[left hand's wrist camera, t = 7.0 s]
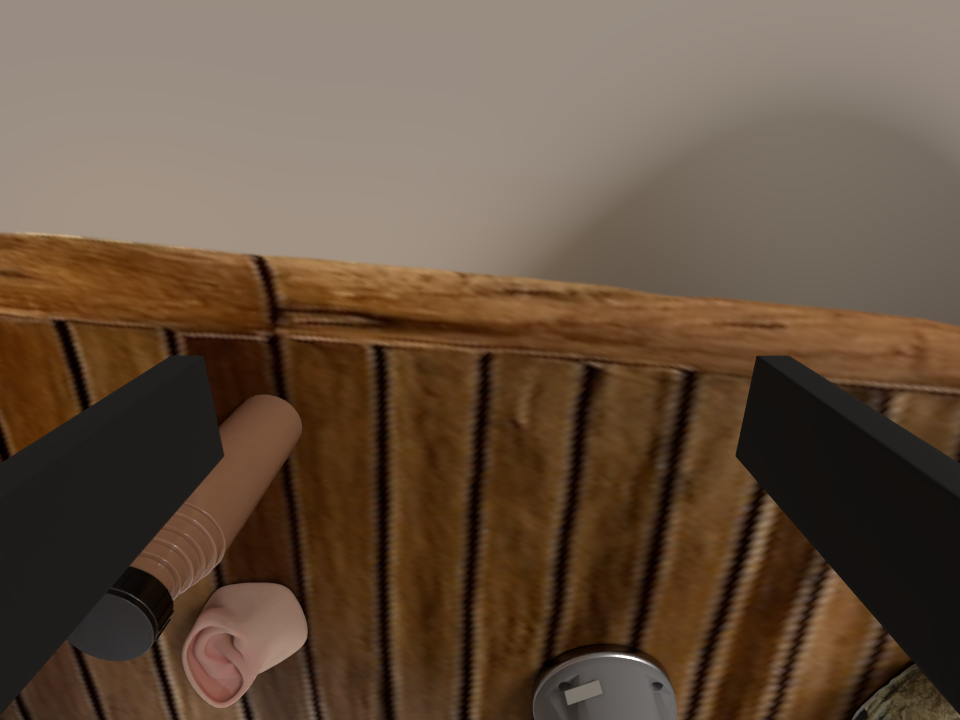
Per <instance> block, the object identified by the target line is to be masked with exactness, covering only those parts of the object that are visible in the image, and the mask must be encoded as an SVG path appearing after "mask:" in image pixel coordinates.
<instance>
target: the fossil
mask: <svg viewBox="0 0 960 720" xmlns="http://www.w3.org/2000/svg"><path fill="white" fill-rule="evenodd" d="M852 720H960V715H959V714H958V713H957V712H956V710H955V709H954V708H953V707H952V706H951V705H950V704H949V702H948V701H947V700H946V699H945V698H944V697H943V695H942V694H941V693H940V692H939V691H938V690H937V688H936V687H935V686H934V685H933V684H932V683H931V682H930V680H929V679H928V678H927V677H926V676H925V675H924V673H923V672H922V671H921V670H920V669H919V668H918V667H917V665H916V664H914V665H912V666H911V667H909V668H907V669H906V670H905V671H904V672H902V673H901V674H900V675H898V676H897V677H895V678H894V679H892V680H891V681H890V683H889V684H888V685H887V686H885V687H883V688H881V689H880V690H878V691H877V692H876V693H875V694H874V695H873V696H872V697H871V698H870V699H869V700H868V701H867V702H865V703H864V704H863V705H862V706H861V708H860V709H859V710H858V711H857V712H856V714H855V715H854V716H853V718H852Z"/></svg>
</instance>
